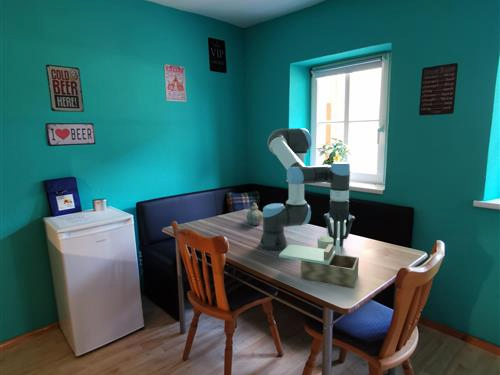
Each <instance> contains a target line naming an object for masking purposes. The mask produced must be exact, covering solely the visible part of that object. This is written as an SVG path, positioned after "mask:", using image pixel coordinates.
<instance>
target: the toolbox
mask: <svg viewBox="0 0 500 375" xmlns="http://www.w3.org/2000/svg"><path fill="white" fill-rule="evenodd" d="M359 259H360V257H358V256H351V255H346V254H339V255H337V254H335V255H334V257H333V259H332V261H331V262H330V264H329V265H326V264H320V263H313V262H307V261H301V260H300V279H302V280H307V281H312V282H319V283H324V284H329V285H333V286H339V287H343V288H350V289H354V288H355V284H356V282H357V278H358V276H359V264H360V263H359V262H360V261H359Z"/></svg>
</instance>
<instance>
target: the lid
mask: <svg viewBox="0 0 500 375" xmlns="http://www.w3.org/2000/svg"><path fill="white" fill-rule="evenodd" d="M335 254H336V251H334V250H333V245H332V244H329V245H328V246H327V248H326V249H320V248H318V247H310V246H305V245H298V244H291V243H289V244H287V247H286V248H284V249H282V251H281V252H280V253H279V254H278V257H279V258H284V259H290V260H297V261H300V262H301V261H307V262H313V263H320V264H326V265H329V264H330V262H331V261H332V259H333V257H334V255H335Z"/></svg>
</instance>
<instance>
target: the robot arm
mask: <svg viewBox="0 0 500 375" xmlns="http://www.w3.org/2000/svg"><path fill="white" fill-rule="evenodd" d="M312 142H313V141H312V136H311V133H310V132H309V130H308V129H306V128H299V127H298V128H279V129H276V130H273V131H272V133H271V134H270V135H269V136H268V138H267V147H268V150H269V151H270V153H272V154H273V155H276V156H275V157H277V159H278V160H279V161H280V163H281V164H282V165H283V167H284V168H285V170H286V179H287V181H288V182H287V183H288V199H287V200H286V201H285V205H284V203H280V202H279V203H276V202H275V203H270V204H267V205H265V206H263V208H262V216H263V220H262V234H261V237H260V241H259V246H260V248H262V249H264V250H268V251H278V250H284V249H285V248H286V247H287V246H288V241H287V238H286V235H285V230H284V229H285V228H289V227H295V226H297V227H301V226H303V225H304V226H305V225H307V224H308V223H309V222H310V220H311V215H312V211H311V205H309V204H308V202H307V201H306V199H305V185H306V184H307V185H308V184H321V183H328V184H330V188H329V189H330V190H329V191H330V192H329V194H330V196H329V198H330V200H329V211H328V213H324V215H323V216H322V217H323V218H324V220H325V223H326V230H327V229H328V233H329V237H332V238H333V239H334V243H333V245H334V246H336V254H337V255H341V249H342V248H343V247H344V242H343V239H344V240H347V239H348V237H349V234H350V231H351V228H352V224H353V222H354V221H355V219H356V217H355V216H354V215H351V213H350V211H349V207H350V201H349V200H350V180H351V178H350V177H351V171H350V170H351V169H350V167H351V166H350V163H348V162H346V161H345V162H344V161H334V162H331V164H319V165H308V166H307V165H305V156H306V155H308V151H309V150H310V149H311V147H312V145H313V144H312ZM330 218H332V219H333V220H334V232H333V231H332V227H331V222H330ZM345 220H346V221H347V220H348V223H347V226H346V232H345V235H344V221H345ZM338 221H339V222H340V238H337V237H338V236H337V233H338ZM342 246H343V247H342ZM341 247H342V248H341Z"/></svg>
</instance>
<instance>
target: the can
mask: <svg viewBox="0 0 500 375" xmlns="http://www.w3.org/2000/svg"><path fill="white" fill-rule="evenodd" d="M333 243H334V239H333V238H332V237H329V236H327V235H321V236H317V248H320V249H326V248H327V246H328V245H329V244H332V245H333ZM333 250H334V251H336V246H334V245H333Z"/></svg>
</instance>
